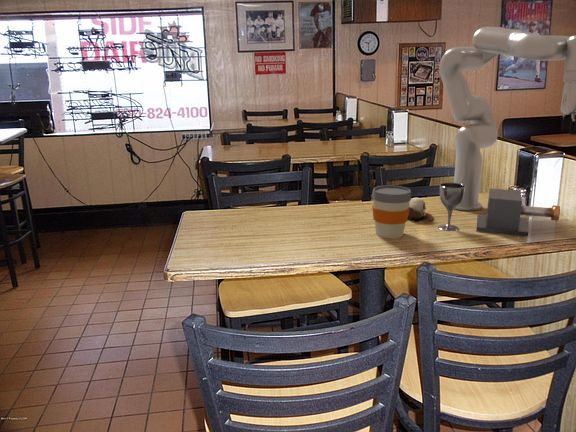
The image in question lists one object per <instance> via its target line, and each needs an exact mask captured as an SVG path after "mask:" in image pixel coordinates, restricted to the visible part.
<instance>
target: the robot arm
mask: <svg viewBox="0 0 576 432" xmlns="http://www.w3.org/2000/svg"><path fill="white" fill-rule="evenodd" d="M472 45H473V46H456V47H452V48H450V49H448V50H447V51H445V53H444V54H443V55H442V57H441V59H440V62H439V69H438V70H439V76H440V79H441V81H442V85H443V87H444V90H445V93H446V98H447V101H448V104H449V109H450V111H451V115H452V117H453V120H455V121H456V122H458V123H467V122H468V123H469V122H470V124H466V125H463V126H461V127H460V128H459V129H458V130H457V131H456V133H455V137H454V145H455V146H454V147H455V163H454V164H455V165H454V174H453V175H454V176H453V183H460V184H463V185H465V189H464V195H463V199H462V201H461V203H460V204H459V205H458V206H457V207H456V208H455V209H454V210H457V211H467V212H469V211H479V210H481V209H482V207H483V204H482V203H480V201H479V196H480V186H481V179H482V178H481V176H482V168H483V167H482V166H483V157H482V153H481V149H486V148H489V147H492V146H493V145H494V144H495V143H496V142H497V139H498V135H499V134H498V128H497V125H496V121H495V117H494V114H493V110H492V108H491V107H492V106H491V105H490V102H489V101H488V100H487V99H486V98H485V97H484V96H481V95H478V94H477V95H473V93H472V92H471V91H472V90H471V88H470V83H469V82H468V79H467V78H466V77H465V75H464V74H463V71H476V70H479V69H482V68H483V67H485V66H486V65H488V64H489V63H490V62H491V61H492V60H494V59H495V58H496V57H498V56H499V55H503V56H509V57H513V58H514V57H515V58H521V59H527V60H533V61H534V60H535V61H541V62H542V61H543V62H548V61H549V62H551V61H552V62H554V61H564V71H563V77H562V78H563V79H562V80H563V81H562V82H563V83H564V86H563V89H562V96H561V104H560V109H559V110H560V112H561V114H562V119H561V127H560V130H561V131H564V132H569V134H570V135H576V34H575V35H571V36H568V35H547V34H546V35H545V34H542V35H541V34H535V33H534V34H533V33H526V32H524V31H522V30H521V29H517V28H516V29H514V28H504V27H502V26H482V27H479V29H477V30H476V31H475V32H474V34H473V36H472Z"/></svg>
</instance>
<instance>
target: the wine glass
mask: <svg viewBox="0 0 576 432" xmlns="http://www.w3.org/2000/svg"><path fill="white" fill-rule="evenodd" d="M464 189H465V185H463V184H460V183H454V181H453V182H451V181H450V182H448V181H447V182H441V183H440V184H439V199H440V202H441V204H442V205H443V206H444V207H445V209H446V211H447V224H446V223H445V224H440V225H438V226H437V228H438V229H439V230H441V231H446V232H456V231H460V227H459V226H458V225H453V224H451V219H452V214H453V211H454V210H456V209H455V208H456V207H457V206H458V205H459V204H460V203H461V201H462V199H463V195H464Z"/></svg>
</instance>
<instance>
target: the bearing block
mask: <svg viewBox="0 0 576 432" xmlns="http://www.w3.org/2000/svg"><path fill="white" fill-rule="evenodd" d="M487 199H488V200H487V207H486V208H487V209H486V214H481V213H480V214H479V213H478V214H477V215H476V216H477V217H476V228H475V229H476V230H475V232H478V233H479V232H480V233H490V234H498V235H507V236H519V237H528V238H529V232H530V231H529V228H528V224H527V223H528V222H527V219H526V218H525V217H521V208H522V206H523V198H522V192H521V190H517V189H515V190H513V189H503V188H502V189H501V188H489V190H488V198H487Z"/></svg>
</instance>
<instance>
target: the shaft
mask: <svg viewBox="0 0 576 432" xmlns="http://www.w3.org/2000/svg"><path fill="white" fill-rule="evenodd" d="M521 215H522V216H533V217H542V218H543V217H544V218H550V220H551V221H553V222H558V221H559V220H560V216H561V205H552V206H551V207H542V206H541V207H539V206H529V205H522V208H521ZM521 215H520V216H521Z"/></svg>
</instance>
